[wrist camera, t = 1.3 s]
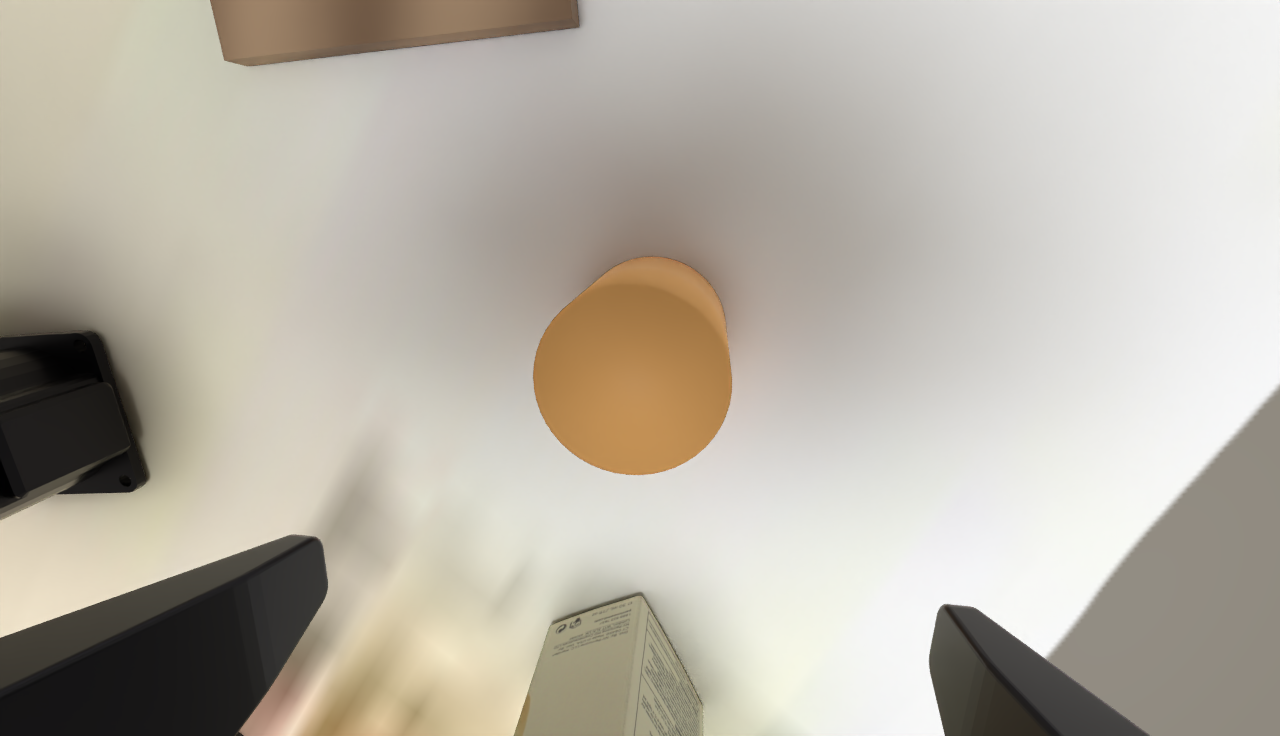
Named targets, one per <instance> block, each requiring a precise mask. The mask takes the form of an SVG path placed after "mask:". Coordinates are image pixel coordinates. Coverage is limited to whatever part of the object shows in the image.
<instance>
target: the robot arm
mask: <svg viewBox="0 0 1280 736" xmlns="http://www.w3.org/2000/svg"><path fill="white" fill-rule="evenodd" d="M84 343H85V345H86V346H85V345H84ZM145 482H146V478H145V474H144V471H143V468H142V465H141V461H140V458H139V455H138V452H137V449H136V446H135V443H134V440H133V437H132V434H131V431H130V428H129V425H128V421H127V418H126V415H125V412H124V409H123V406H122V403H121V400H120V397H119V394H118V391H117V388H116V385H115V382H114V378H113V375H112V372H111V369H110V366H109V363H108V360H107V357H106V354H105V351H104V348H103V345H102V342H101V340H100V338H99V337H98V336H97V335H96V334H95V333H93V332H91V331H71V332H55V333H39V334H23V335H7V336H0V520H2V519H5V518H7V517H9V516H11V515H13V514H15V513H17V512H19V511H21V510H24V509H26V508H28V507H30V506H32V505H34V504H36V503H38V502H40V501H43V500H45V499H47V498H49V497H51V496H53V495H55V494H87V493H126V492H133V491H135V490H137V489H139V488H140V487H142V486H143V485H144V484H145ZM327 590H328V579H327V571H326V564H325V557H324V550H323V545H322V542H321V541H320V539H318V538H317V537H313V536H304V535H289V536H286V537H283V538H280V539H277V540H274V541H272V542H269V543H266V544H263V545H260V546H258V547H255V548H252V549H249V550H246V551H244V552H241V553H238V554H235V555H232V556H229V557H227V558H224V559H221V560H218V561H215V562H213V563H210V564H207V565H204V566H201V567H198V568H196V569H193V570H190V571H187V572H184V573H182V574H179V575H176V576H173V577H170V578H167V579H165V580H162V581H159V582H156V583H153V584H151V585H148V586H145V587H142V588H139V589H137V590H134V591H131V592H128V593H125V594H122V595H120V596H117V597H114V598H111V599H108V600H106V601H103V602H100V603H97V604H94V605H91V606H89V607H86V608H83V609H80V610H77V611H75V612H72V613H69V614H66V615H63V616H61V617H58V618H55V619H52V620H49V621H46V622H44V623H41V624H38V625H35V626H32V627H30V628H27V629H24V630H21V631H18V632H15V633H13V634H10V635H7V636H4V637H1V638H0V736H236V734H237V733H238V732H239V730H240V729H241V728H242V726H243V725H244V724H245V722H246V721H247V720H248V718H249V717H250V715H251V714H252V713H253V711H254V710H255V709H256V707H257V706H258V705H259V703H260V702H261V700H262V699H263V697H264V696H265V695H266V693H267V692H268V690H269V689H270V687H271V686H272V684H273V682H274V681H275V679H276V678H277V676H278V675H279V673H280V671H281V670H282V668H283V667H284V665H285V663H286V662H287V660H288V658H289V657H290V655H291V653H292V652H293V650H294V649H295V647H296V645H297V644H298V642H299V640H300V639H301V637H302V635H303V634H304V632H305V631H306V629H307V627H308V626H309V624H310V622H311V621H312V619H313V618H314V616H315V614H316V613H317V611H318V609H319V608H320V606H321V604H322V603H323V601H324V599H325V596H326V594H327ZM929 667H930V674H931V678H932V683H933V687H934V691H935V695H936V700H937V704H938V708H939V712H940V717H941V721H942V725H943V729H944V734H945V736H1150V735H1149V734H1147V733H1146V732H1145V731H1143V730H1142V729H1141V728H1139V727H1138V726H1136V725H1135V724H1134V723H1132V722H1131V721H1130V720H1128V719H1127V718H1126V717H1124V716H1123V715H1121V714H1120V713H1119V712H1117V711H1116V710H1115V709H1113V708H1112V707H1110V706H1109V705H1108V704H1106V703H1105V702H1104V701H1102V700H1101V699H1099V698H1098V697H1097V696H1095V695H1094V694H1093V693H1091V692H1090V691H1088V690H1087V689H1086V688H1084V687H1083V686H1082V685H1080V684H1079V683H1078V682H1076V681H1075V680H1073V679H1072V678H1071V677H1069V676H1068V675H1067V674H1065V673H1064V672H1063V671H1061V670H1060V669H1058V668H1057V667H1056V666H1054V665H1053V664H1052V663H1050V662H1049V661H1047V660H1046V659H1045V658H1043V657H1042V656H1041V655H1039V654H1038V653H1036V652H1035V651H1034V650H1032V649H1031V648H1030V647H1028V646H1027V645H1026V644H1024V643H1023V642H1021V641H1020V640H1019V639H1017V638H1016V637H1015V636H1013V635H1012V634H1010V633H1009V632H1008V631H1006V630H1005V629H1004V628H1002V627H1001V626H1000V625H998V624H997V623H995V622H994V621H993V620H991V619H990V618H989V617H987V616H986V615H984V614H983V613H982V612H980V611H979V610H977V609H976V608H974V607H970V606H960V605H950V604H944V605H942V606H941V607H940V609H939V611H938V613H937V618H936V623H935V628H934V633H933V638H932V643H931V649H930V654H929Z"/></svg>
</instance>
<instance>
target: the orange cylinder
mask: <svg viewBox="0 0 1280 736" xmlns="http://www.w3.org/2000/svg"><path fill="white" fill-rule="evenodd" d="M533 380H534V390H535V395H536V400H537V403H538V406H539V409H540V412H541V414H542V416H543V418H544V420H545V422H546V424H547V425H548V427H549V428H550V430H551V432H552V433H553V434H554V435H555V437H556V438H557V439H558V440H559V441H560V443H561V444H563V445H564V446H565V447H566V448H567V449H568V450H569V451H570V452H572V453H573V454H574V455H576V456H577V457H579V458H580V459H582V460H583V461H585V462H587V463H589V464H591V465H593V466H595V467H598V468H600V469H603V470H607V471H610V472H614V473H620V474H626V475H645V474H654V473H658V472H663V471H666V470H669V469H672V468H675V467H677V466H679V465H681V464H683V463H685V462H687V461H688V460H690V459H691V458H693V457H694V456H696V455H697V454H698V453H699V452H701V451H702V450H703V449H704V448H705V447H706V446H707V445H708V444H709V443H710V441H711V440H712V439H713V438H714V437H715V435H716V434H717V432H718V430H719V429H720V427H721V425H722V423H723V421H724V419H725V417H726V414H727V411H728V408H729V405H730V399H731V393H732V375H731V366H730V357H729V348H728V340H727V331H726V322H725V315H724V311H723V307H722V305H721V302H720V300H719V298H718V296H717V294H716V292H715V291H714V289H713V288H712V286H711V285H710V284H709V283H708V281H707V280H706V279H705V278H704V277H703V276H702V275H700V274H699V273H698V272H696V271H695V270H694V269H692V268H691V267H689V266H687V265H685V264H683V263H681V262H678V261H676V260H672V259H669V258H663V257H640V258H635V259H631V260H628V261H625V262H623V263H621V264H618V265H617V266H615V267H613V268H612V269H610V270H609V271H608V272H606V273H605V274H604V275H603V276H601V277H600V278H599V279H598V280H597V281H595V282H594V283H593V284H592V285H591V286H590V287H588V288H587V289H586V290H585V291H584V292H582V293H581V294H580V295H579V296H578V297H577V298H575V299H574V300H573V301H572V302H571V303H569V304H568V305H567V306H566V307H565V308H564V309H562V310H561V311H560V313H559V314H558V315H557V316H556V317H555V318H554V319H553V320H552V322H551V323H550V325H549V326H548V327H547V329H546V331H545V333H544V335H543V336H542V338H541V340H540V343H539V346H538V349H537V352H536V357H535V362H534V372H533Z"/></svg>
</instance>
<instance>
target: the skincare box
mask: <svg viewBox="0 0 1280 736" xmlns="http://www.w3.org/2000/svg"><path fill="white" fill-rule="evenodd" d="M514 736H703V707H702V705H701V703H700V701H699V699H698V697H697V694H696V692H695V690H694V689H693V687H692V684H691V682H690V680H689V679H688V677H687V675H686V673H685V671H684V669H683V667H682V665H681V663H680V661H679V660H678V658H677V656H676V654H675V652H674V650H673V649H672V647H671V645H670V643H669V641H668V640H667V638H666V636H665V634H664V633H663V631H662V629H661V627H660V625H659V624H658V622H657V620H656V619H655V617H654V615H653V613H652V612H651V610H650V608H649V607H648V605H647V603H646V601H645V600H644V598H643V597H642V596H635V597H632V598H629V599H626V600H623V601H619V602H616V603H613V604H610V605H606V606H603V607H600V608H597V609H594V610H591V611H588V612H585V613H582V614H579V615H577V616H574V617H571V618H568V619H566V620H563V621H561V622H558V623H555V624H553V625H551V626H550V627H549V630H548V633H547V635H546V639H545V642H544V645H543V648H542V651H541V654H540V657H539V660H538V663H537V666H536V669H535V672H534V675H533V678H532V681H531V684H530V687H529V690H528V693H527V697H526V700H525V703H524V706H523V709H522V712H521V715H520V718H519V721H518V724H517V727H516V730H515V734H514Z"/></svg>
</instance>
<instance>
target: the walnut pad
mask: <svg viewBox="0 0 1280 736" xmlns="http://www.w3.org/2000/svg"><path fill="white" fill-rule="evenodd" d="M210 2H211V6H212V10H213V15H214V19H215V23H216V27H217V31H218V35H219V40H220V44H221V48H222V52H223V56H224V60H225V61H229V62H233V63H236V64H240V65H244V66H254V65H263V64H271V63H280V62H288V61H297V60H305V59H314V58H322V57H331V56H339V55H348V54H356V53H365V52H373V51H382V50H390V49H398V48H407V47H415V46H424V45H432V44H441V43H449V42H458V41H466V40H475V39H483V38H492V37H500V36H509V35H517V34H526V33H534V32H543V31H551V30H560V29H568V28H577V27H579V18H578V8H577V0H210Z"/></svg>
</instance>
